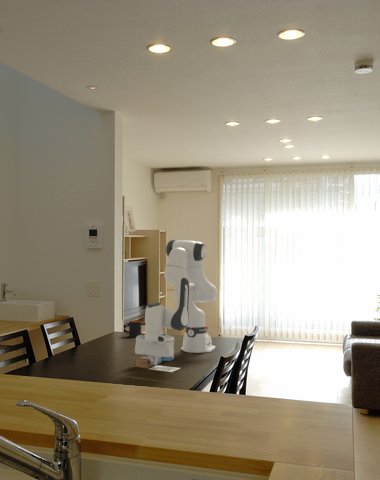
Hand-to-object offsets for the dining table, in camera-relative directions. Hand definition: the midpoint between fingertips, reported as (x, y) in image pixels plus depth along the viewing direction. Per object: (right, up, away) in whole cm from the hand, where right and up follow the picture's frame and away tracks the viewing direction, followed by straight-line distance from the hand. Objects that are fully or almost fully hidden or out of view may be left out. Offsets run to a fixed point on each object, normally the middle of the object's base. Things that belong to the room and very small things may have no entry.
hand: (153, 364), depth 236 cm
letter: (+6, -1, -3) cm, 6 cm away
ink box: (+5, -3, +19) cm, 20 cm away
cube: (0, -2, +10) cm, 10 cm away
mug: (-22, -5, +94) cm, 97 cm away
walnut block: (-4, -1, +2) cm, 5 cm away
